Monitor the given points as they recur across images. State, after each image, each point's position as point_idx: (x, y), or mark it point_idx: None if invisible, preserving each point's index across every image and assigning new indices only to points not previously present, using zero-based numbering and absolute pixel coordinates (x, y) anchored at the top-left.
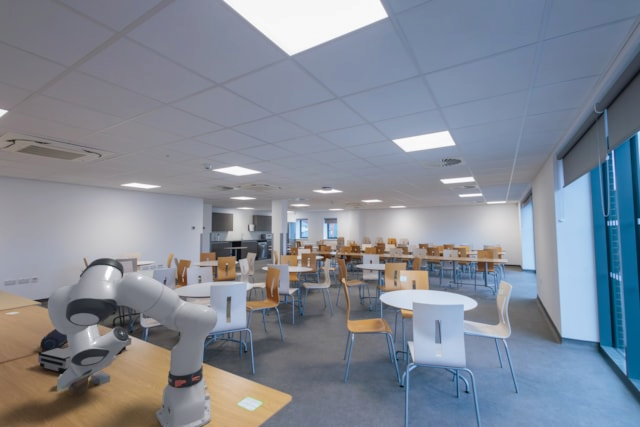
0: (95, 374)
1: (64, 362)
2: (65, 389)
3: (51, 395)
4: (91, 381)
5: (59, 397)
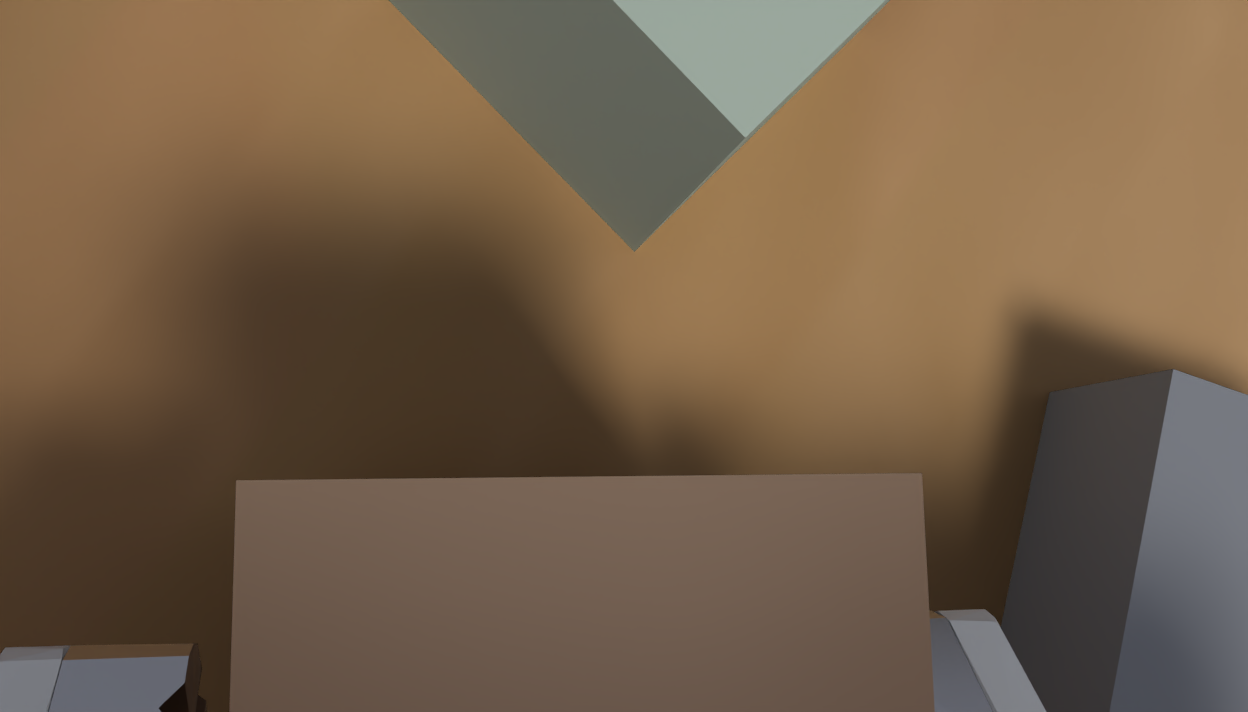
0: (1229, 496)
1: None
2: (523, 136)
3: (160, 68)
4: (1042, 432)
5: (108, 432)
